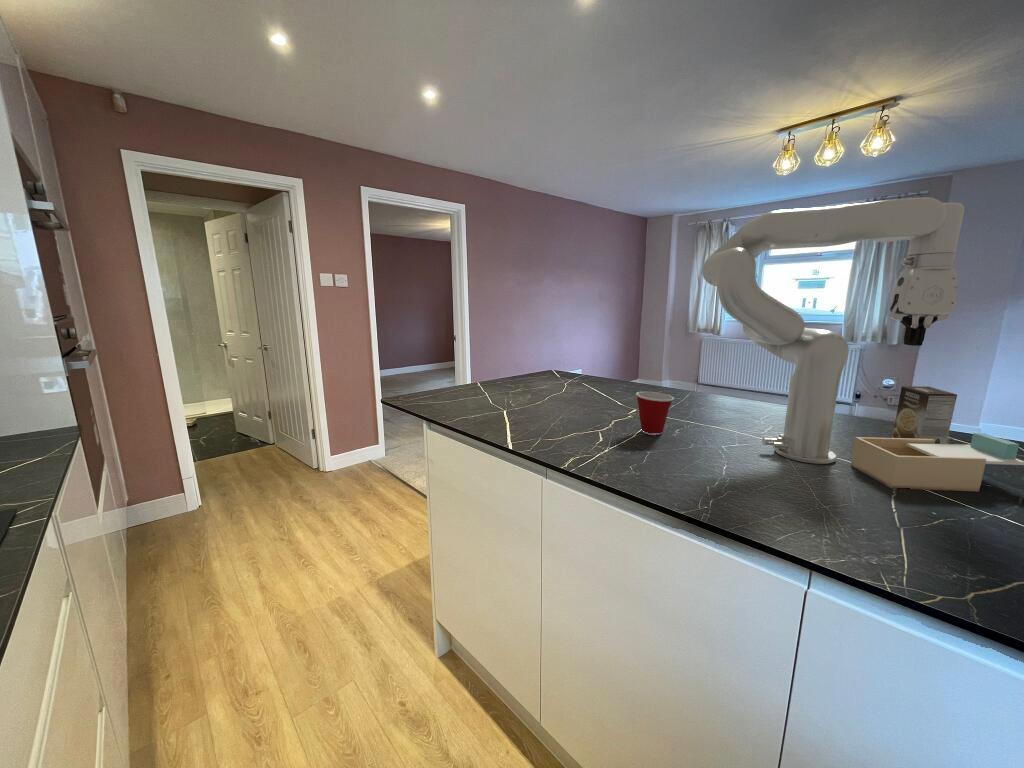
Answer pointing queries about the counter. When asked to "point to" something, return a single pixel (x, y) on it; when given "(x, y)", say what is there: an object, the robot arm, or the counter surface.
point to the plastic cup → (653, 410)
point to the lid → (975, 449)
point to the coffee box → (924, 413)
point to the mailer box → (915, 465)
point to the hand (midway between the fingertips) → (912, 344)
